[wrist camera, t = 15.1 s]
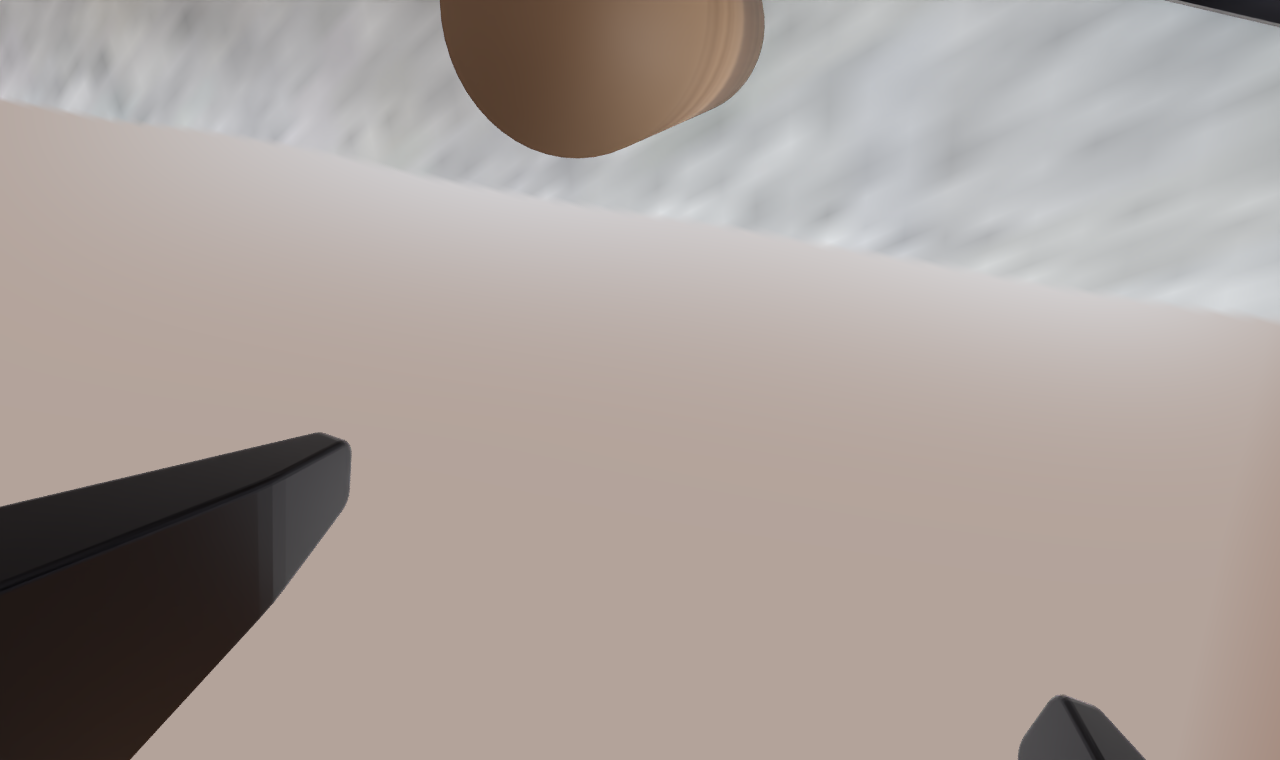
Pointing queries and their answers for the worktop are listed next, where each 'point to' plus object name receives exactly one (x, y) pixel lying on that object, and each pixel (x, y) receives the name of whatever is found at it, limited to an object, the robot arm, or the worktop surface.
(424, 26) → the worktop surface
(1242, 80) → the worktop surface
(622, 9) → the walnut cylinder
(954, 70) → the worktop surface
